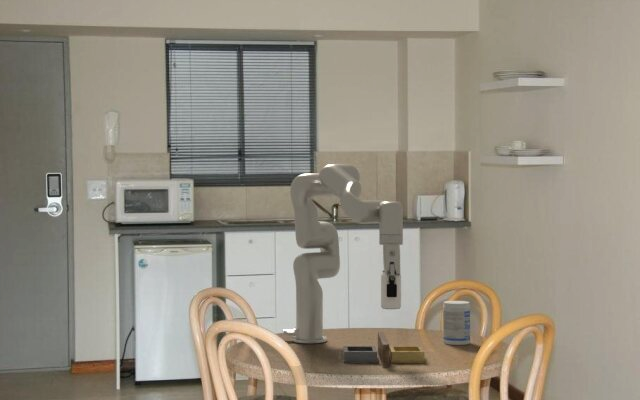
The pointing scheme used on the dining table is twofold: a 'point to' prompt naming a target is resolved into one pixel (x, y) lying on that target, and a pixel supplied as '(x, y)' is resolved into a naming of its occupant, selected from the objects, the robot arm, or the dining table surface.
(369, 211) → the robot arm
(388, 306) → the can
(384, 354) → the brown wooden plank
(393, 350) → the brass keeper
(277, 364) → the dining table surface
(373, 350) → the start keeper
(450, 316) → the supplement tub
